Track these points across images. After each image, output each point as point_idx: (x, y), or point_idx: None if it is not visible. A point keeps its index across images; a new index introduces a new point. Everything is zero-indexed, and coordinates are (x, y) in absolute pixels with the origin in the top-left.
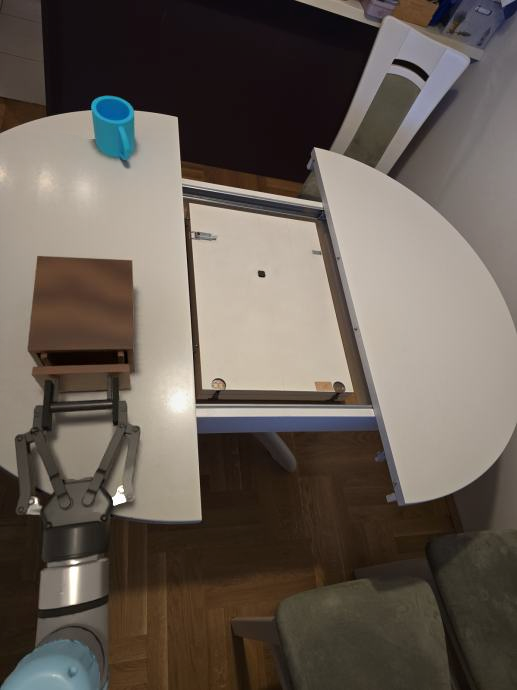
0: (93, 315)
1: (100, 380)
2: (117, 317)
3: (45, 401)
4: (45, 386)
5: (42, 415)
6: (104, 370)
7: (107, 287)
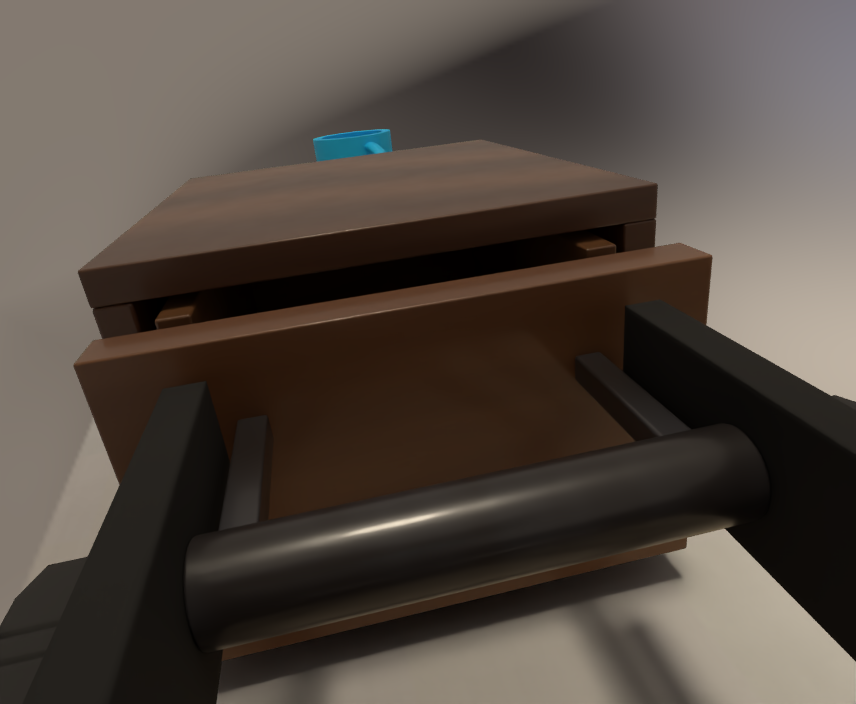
0: (404, 183)
1: (526, 436)
2: (508, 171)
3: (138, 488)
4: (159, 413)
5: (71, 605)
6: (554, 276)
7: (430, 160)
